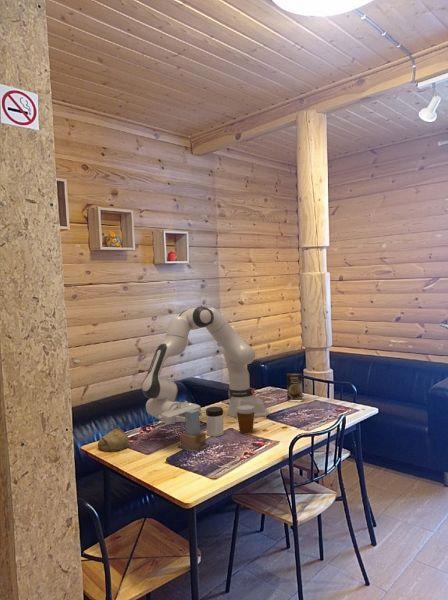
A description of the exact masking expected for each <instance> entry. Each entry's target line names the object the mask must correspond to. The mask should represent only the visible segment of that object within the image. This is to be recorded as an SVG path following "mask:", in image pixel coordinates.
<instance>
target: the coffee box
mask: <svg viewBox="0 0 448 600" xmlns="http://www.w3.org/2000/svg"><path fill="white" fill-rule="evenodd" d="M286 391H287V392H286V393H287V394H286V396H287V400H303V401H304V399H303V396H304V395H303V373H302V372H301V373H296V372H295V373H293V372H291V373H289V372H287V373H286Z"/></svg>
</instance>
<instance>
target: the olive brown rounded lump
mask: <svg viewBox="0 0 448 600" xmlns="http://www.w3.org/2000/svg"><path fill="white" fill-rule="evenodd" d="M130 447H131V442H130V437H128V435H127V434H126V432H125V431H124V430H122V429H120V428H114V429H113V430H111V431H109V432H108V433H107V434H104V435H103V436H101V439H99V440H98V443H97V448H98V449H99V450H101V451H104V452H115V451H123V450H124V449H128V448H130Z"/></svg>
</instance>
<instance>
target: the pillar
mask: <svg viewBox="0 0 448 600" xmlns="http://www.w3.org/2000/svg"><path fill="white" fill-rule="evenodd" d="M185 417H187V421H185V422H184V423H185V424H184V425H185V432H186V434H189V435H192V436H193V435H196V434H198V433H200V431H201V423H200V421H201V420H200V416H199V410H195V409H190V410H187V411H185Z"/></svg>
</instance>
